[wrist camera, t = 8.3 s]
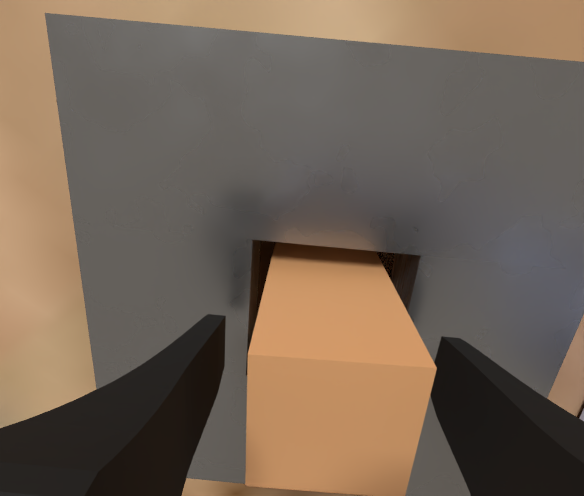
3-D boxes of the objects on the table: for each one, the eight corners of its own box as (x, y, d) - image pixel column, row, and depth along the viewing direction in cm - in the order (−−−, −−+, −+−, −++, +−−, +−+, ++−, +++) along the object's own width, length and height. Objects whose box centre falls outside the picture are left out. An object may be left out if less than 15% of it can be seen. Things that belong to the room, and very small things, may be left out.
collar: (606, 81, 13) (688, 71, 10) (471, 452, 20) (499, 508, 17) (101, 35, 13) (45, 12, 10) (136, 419, 20) (107, 470, 17)
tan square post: (373, 248, 16) (437, 368, 8) (361, 332, 17) (404, 498, 10) (275, 241, 16) (247, 354, 8) (271, 325, 17) (245, 486, 10)
